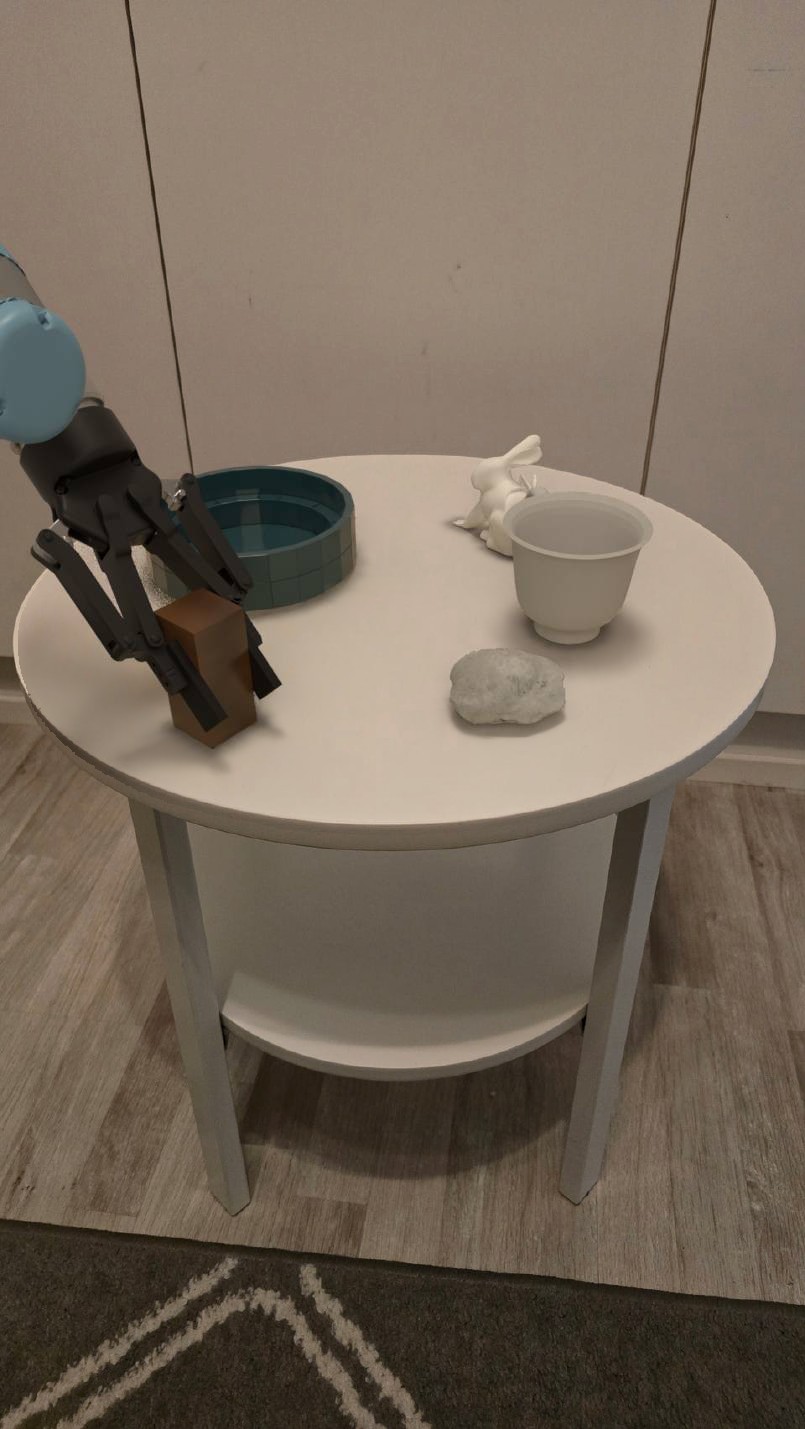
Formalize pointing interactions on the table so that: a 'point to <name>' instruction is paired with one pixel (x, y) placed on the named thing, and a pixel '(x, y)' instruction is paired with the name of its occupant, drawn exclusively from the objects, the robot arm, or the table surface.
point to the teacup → (573, 559)
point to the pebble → (506, 687)
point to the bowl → (275, 532)
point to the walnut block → (212, 661)
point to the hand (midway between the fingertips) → (244, 707)
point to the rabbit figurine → (501, 492)
